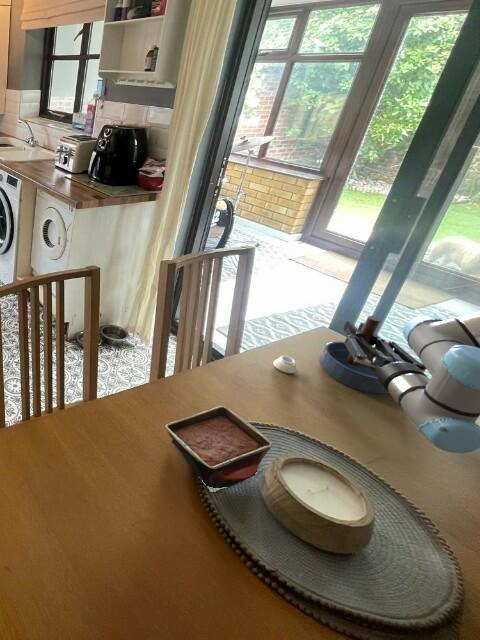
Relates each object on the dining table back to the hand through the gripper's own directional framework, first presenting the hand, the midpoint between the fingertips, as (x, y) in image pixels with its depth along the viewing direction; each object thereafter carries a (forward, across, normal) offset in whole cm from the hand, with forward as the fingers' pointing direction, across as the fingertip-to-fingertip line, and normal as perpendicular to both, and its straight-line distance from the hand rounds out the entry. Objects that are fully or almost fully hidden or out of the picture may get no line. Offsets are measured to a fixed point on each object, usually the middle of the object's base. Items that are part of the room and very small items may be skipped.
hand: (353, 326), depth 109 cm
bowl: (-6, +2, -11) cm, 13 cm away
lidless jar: (-9, -16, -11) cm, 21 cm away
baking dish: (-47, -40, -11) cm, 63 cm away
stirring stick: (-6, 0, -8) cm, 10 cm away
